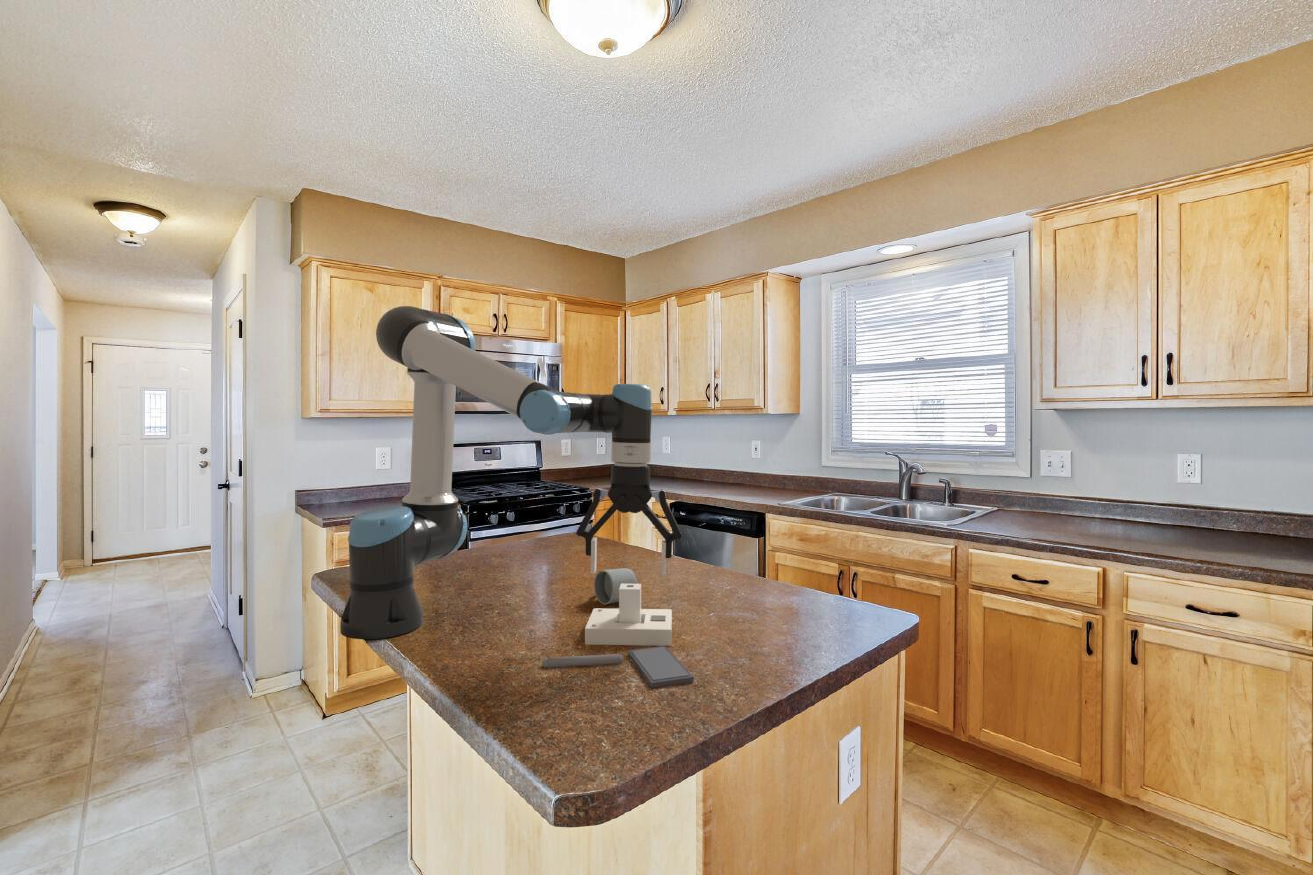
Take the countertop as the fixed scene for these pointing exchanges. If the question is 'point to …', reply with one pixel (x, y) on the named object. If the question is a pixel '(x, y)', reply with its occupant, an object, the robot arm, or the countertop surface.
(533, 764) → the countertop surface
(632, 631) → the outlet plate
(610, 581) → the ceramic mug
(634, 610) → the charger block
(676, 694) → the countertop surface
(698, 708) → the countertop surface
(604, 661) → the grey rod
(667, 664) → the phone slab
